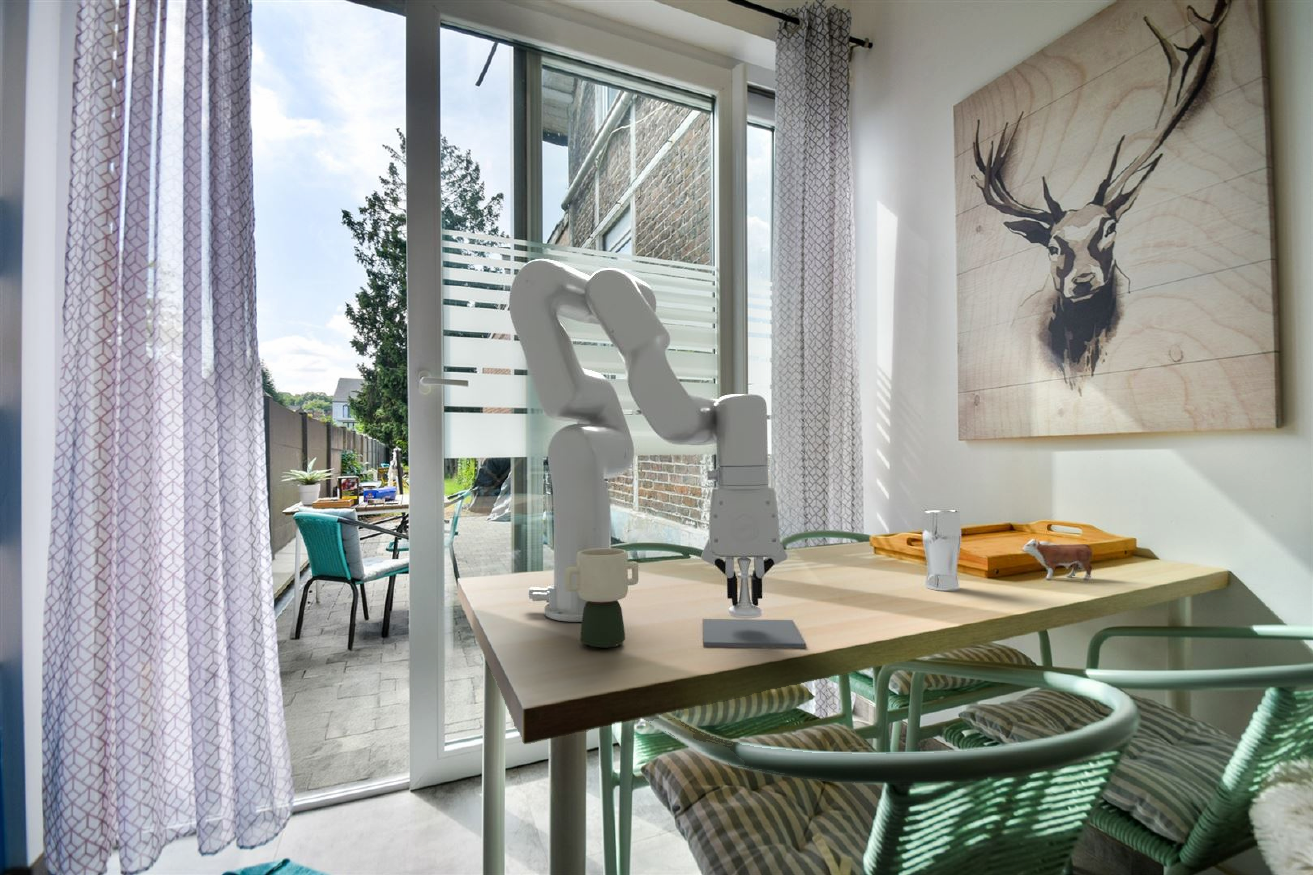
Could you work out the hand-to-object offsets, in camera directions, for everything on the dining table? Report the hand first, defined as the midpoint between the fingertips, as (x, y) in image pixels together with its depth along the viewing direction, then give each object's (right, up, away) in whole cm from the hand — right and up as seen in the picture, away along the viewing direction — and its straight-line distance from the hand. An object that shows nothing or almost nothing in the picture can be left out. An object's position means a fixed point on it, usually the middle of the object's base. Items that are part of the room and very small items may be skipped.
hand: (744, 602), depth 91 cm
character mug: (-21, -5, -5) cm, 22 cm away
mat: (+1, -5, 0) cm, 5 cm away
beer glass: (+43, -5, +30) cm, 53 cm away
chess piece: (0, -2, 0) cm, 2 cm away
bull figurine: (+71, -5, +39) cm, 81 cm away
